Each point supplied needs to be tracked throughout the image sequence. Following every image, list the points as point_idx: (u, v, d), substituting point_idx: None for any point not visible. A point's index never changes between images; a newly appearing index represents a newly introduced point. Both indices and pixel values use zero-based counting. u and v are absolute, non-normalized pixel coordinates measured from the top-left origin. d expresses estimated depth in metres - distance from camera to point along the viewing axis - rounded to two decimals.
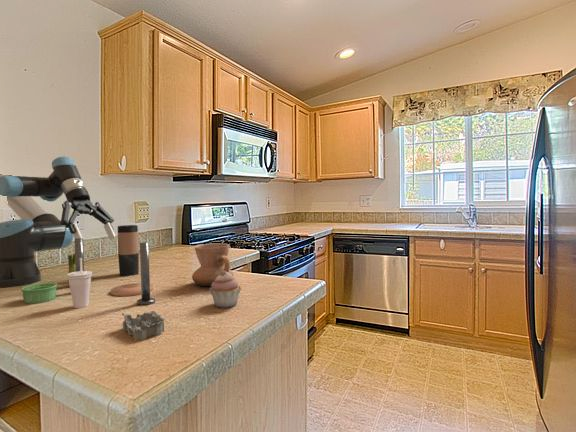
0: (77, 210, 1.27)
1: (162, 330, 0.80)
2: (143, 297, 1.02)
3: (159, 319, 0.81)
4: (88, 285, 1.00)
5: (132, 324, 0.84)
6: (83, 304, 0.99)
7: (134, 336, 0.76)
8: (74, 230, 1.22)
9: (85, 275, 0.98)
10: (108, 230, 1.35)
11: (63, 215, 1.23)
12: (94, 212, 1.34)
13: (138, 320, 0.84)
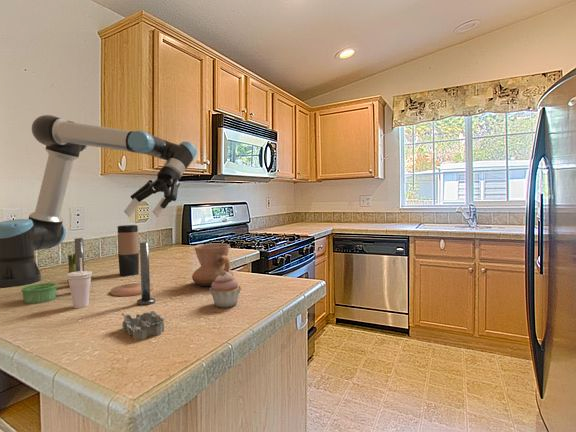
0: (168, 192, 1.26)
1: (162, 330, 0.80)
2: (143, 297, 1.02)
3: (159, 319, 0.81)
4: (88, 285, 1.00)
5: (132, 324, 0.84)
6: (83, 304, 0.99)
7: (134, 336, 0.76)
8: None
9: (85, 275, 0.98)
10: (133, 206, 1.24)
11: (175, 191, 1.22)
12: (152, 192, 1.28)
13: (138, 320, 0.84)
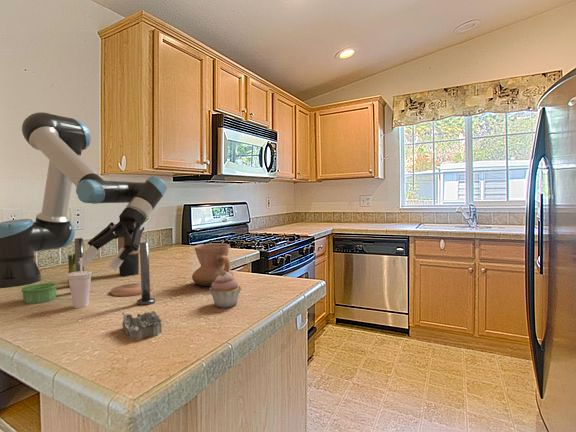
0: (131, 238, 1.10)
1: (159, 331, 0.80)
2: (143, 297, 1.02)
3: (157, 319, 0.81)
4: (88, 285, 1.00)
5: (132, 324, 0.84)
6: (83, 304, 0.99)
7: (130, 336, 0.76)
8: None
9: (85, 275, 0.98)
10: (90, 255, 1.08)
11: (137, 239, 1.06)
12: (113, 237, 1.12)
13: (138, 320, 0.84)
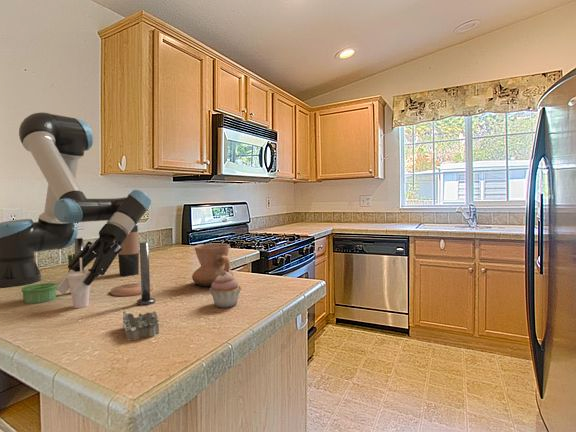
0: None
1: (156, 332, 0.79)
2: (143, 297, 1.02)
3: (155, 320, 0.80)
4: None
5: (133, 323, 0.84)
6: (83, 304, 0.99)
7: (127, 336, 0.76)
8: None
9: None
10: None
11: (107, 262, 1.01)
12: (94, 256, 1.06)
13: (139, 319, 0.85)
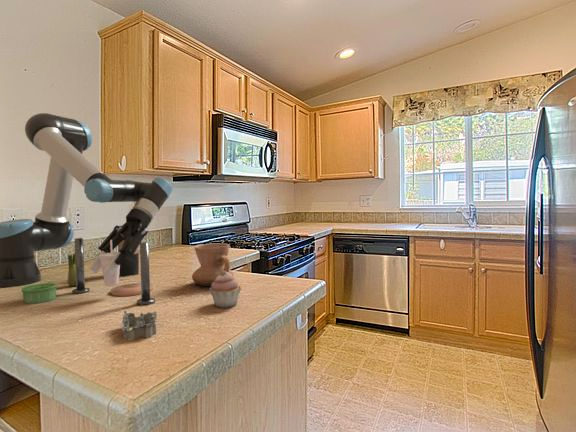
0: None
1: (153, 332, 0.79)
2: (143, 297, 1.02)
3: (152, 321, 0.80)
4: None
5: (134, 322, 0.85)
6: (114, 282, 1.07)
7: (124, 335, 0.77)
8: None
9: None
10: (100, 261, 1.08)
11: (135, 244, 1.08)
12: (122, 239, 1.14)
13: (140, 319, 0.85)
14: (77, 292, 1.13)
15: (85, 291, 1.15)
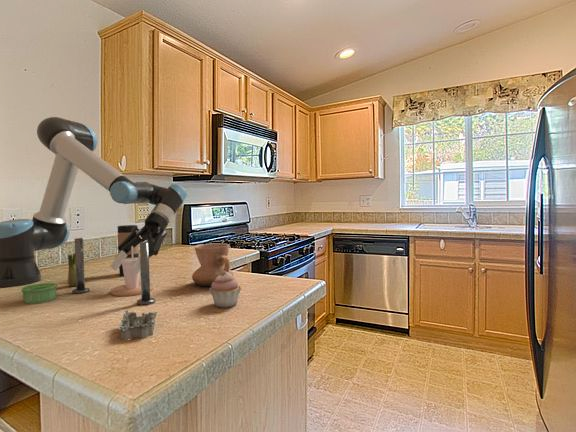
0: (153, 242, 1.21)
1: (150, 333, 0.78)
2: (143, 297, 1.02)
3: (150, 321, 0.80)
4: None
5: None
6: (134, 286, 1.15)
7: (121, 335, 0.77)
8: None
9: None
10: (120, 259, 1.18)
11: (158, 244, 1.17)
12: (140, 241, 1.22)
13: (141, 319, 0.85)
14: (77, 292, 1.13)
15: (85, 291, 1.15)
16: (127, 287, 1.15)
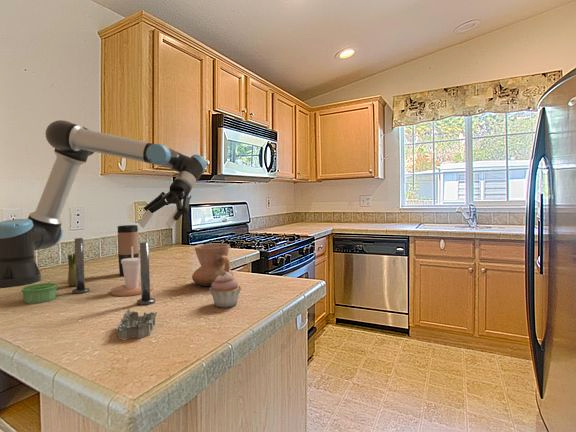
0: (180, 204, 1.31)
1: (147, 334, 0.78)
2: (143, 297, 1.02)
3: (147, 322, 0.79)
4: (138, 269, 1.16)
5: None
6: (134, 286, 1.15)
7: None
8: None
9: (137, 261, 1.15)
10: (146, 217, 1.30)
11: (187, 204, 1.27)
12: (165, 204, 1.34)
13: (142, 318, 0.85)
14: (77, 292, 1.13)
15: (85, 291, 1.15)
16: (127, 287, 1.15)
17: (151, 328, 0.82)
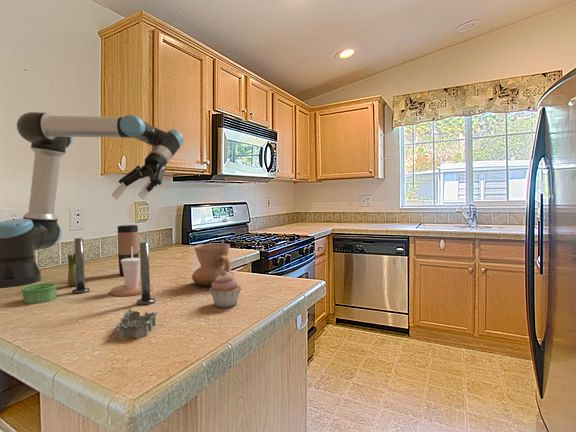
0: (154, 177, 1.31)
1: (144, 334, 0.78)
2: (143, 297, 1.02)
3: (145, 322, 0.79)
4: (138, 269, 1.16)
5: (138, 321, 0.86)
6: (134, 286, 1.15)
7: (117, 334, 0.78)
8: None
9: (136, 261, 1.15)
10: (120, 190, 1.30)
11: (161, 176, 1.28)
12: (139, 177, 1.34)
13: (143, 318, 0.85)
14: (77, 292, 1.13)
15: (85, 291, 1.15)
16: (127, 287, 1.15)
17: (150, 328, 0.81)
